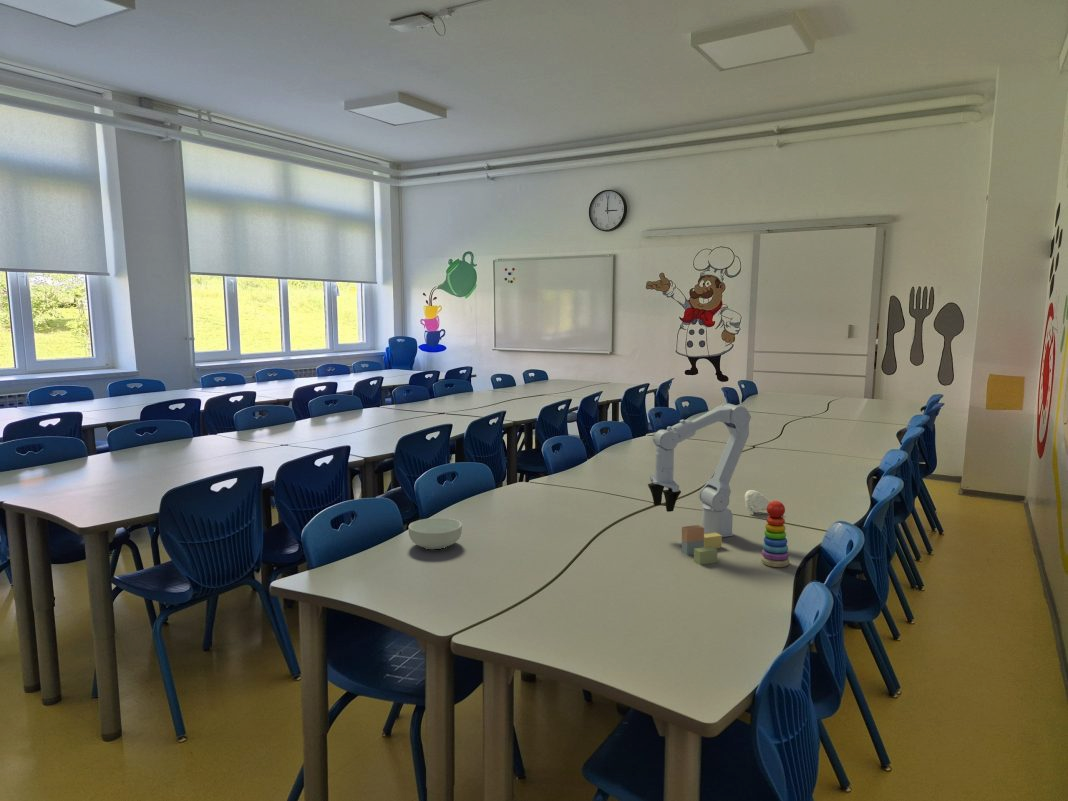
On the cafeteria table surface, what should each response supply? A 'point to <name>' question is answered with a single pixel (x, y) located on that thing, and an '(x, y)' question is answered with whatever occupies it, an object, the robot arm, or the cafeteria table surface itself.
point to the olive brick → (705, 555)
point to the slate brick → (691, 546)
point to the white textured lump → (755, 501)
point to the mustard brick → (713, 540)
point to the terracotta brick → (692, 533)
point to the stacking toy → (775, 537)
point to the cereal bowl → (435, 532)
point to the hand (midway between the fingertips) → (663, 508)
